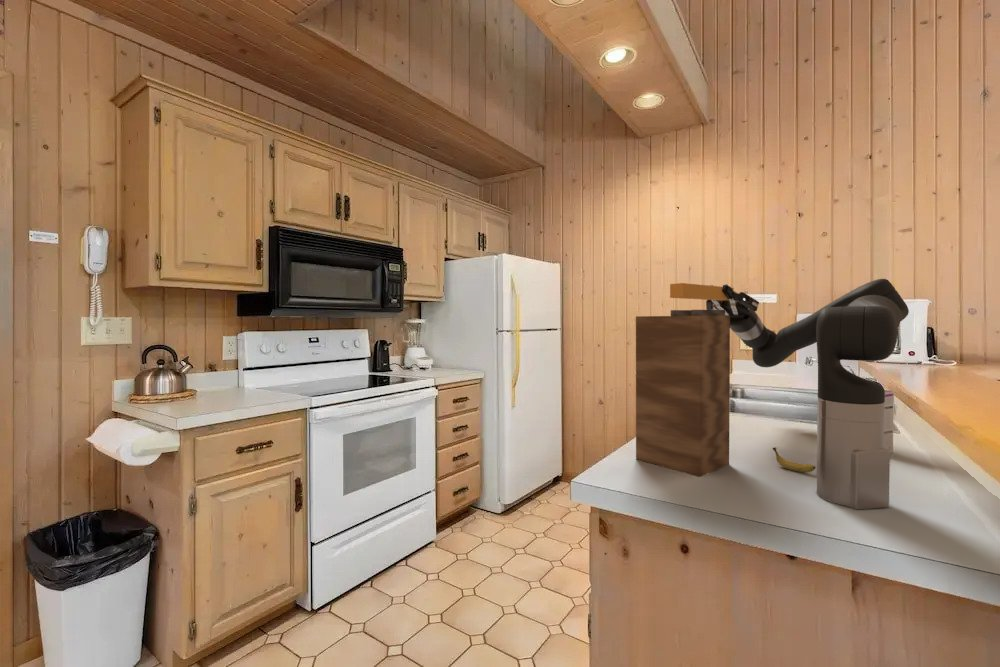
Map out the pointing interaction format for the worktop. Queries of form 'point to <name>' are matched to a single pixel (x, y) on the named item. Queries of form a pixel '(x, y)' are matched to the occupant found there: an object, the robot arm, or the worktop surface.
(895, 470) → the worktop surface
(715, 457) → the walnut stand
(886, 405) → the syrup box
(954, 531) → the worktop surface
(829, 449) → the robot arm
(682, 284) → the orange-brown bar
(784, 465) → the banana
